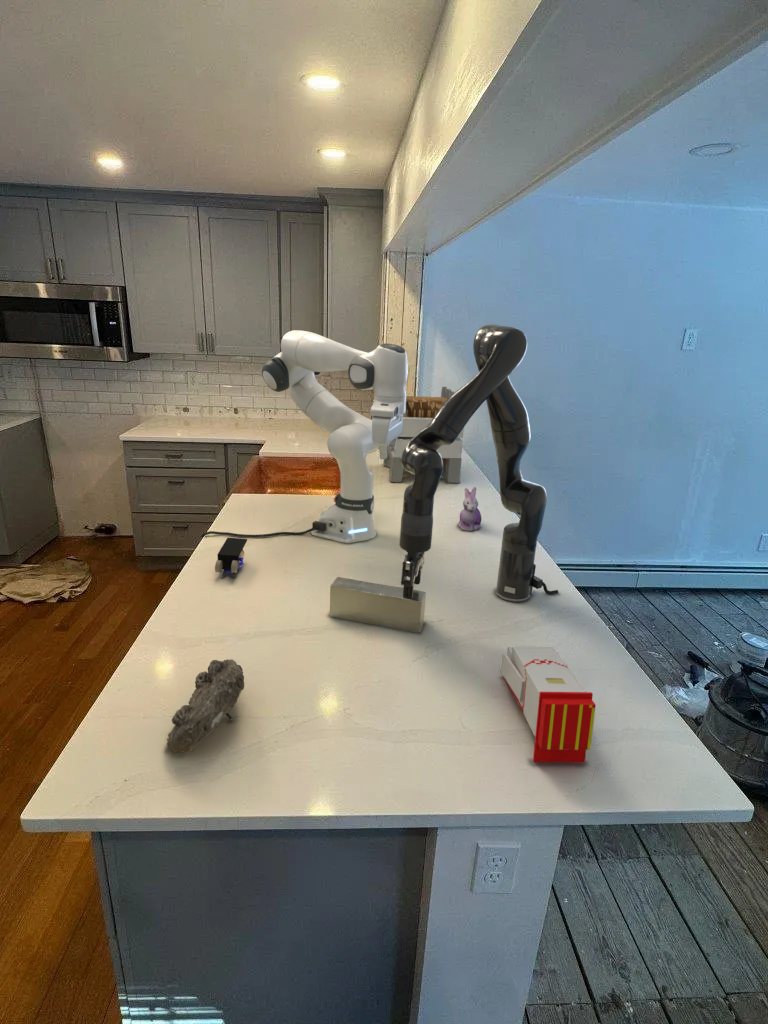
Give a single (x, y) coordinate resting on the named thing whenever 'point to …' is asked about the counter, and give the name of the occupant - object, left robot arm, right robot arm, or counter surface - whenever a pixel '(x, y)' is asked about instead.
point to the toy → (550, 702)
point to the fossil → (206, 705)
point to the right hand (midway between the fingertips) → (411, 590)
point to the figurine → (470, 512)
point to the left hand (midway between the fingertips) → (387, 455)
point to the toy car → (230, 556)
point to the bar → (377, 604)
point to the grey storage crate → (413, 423)
